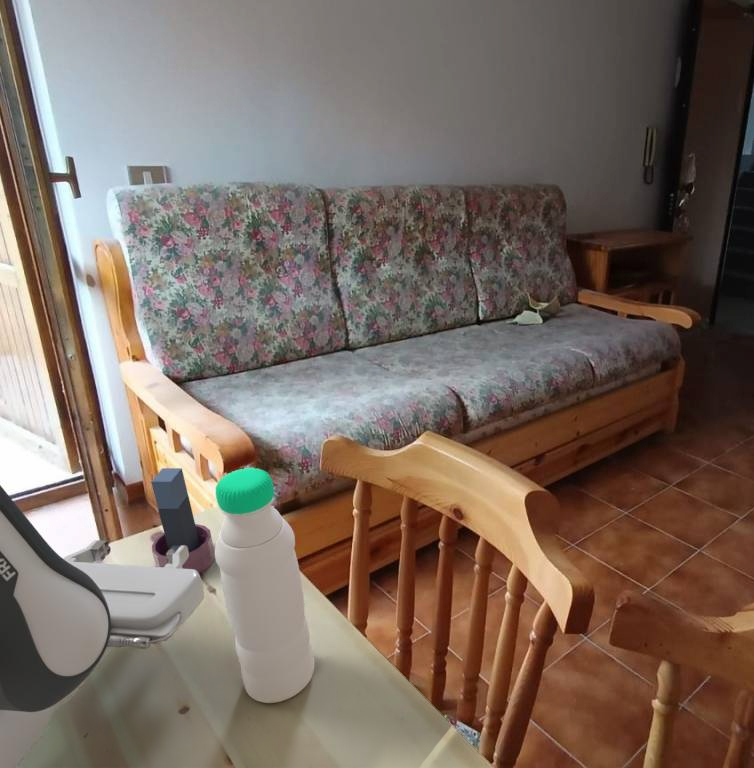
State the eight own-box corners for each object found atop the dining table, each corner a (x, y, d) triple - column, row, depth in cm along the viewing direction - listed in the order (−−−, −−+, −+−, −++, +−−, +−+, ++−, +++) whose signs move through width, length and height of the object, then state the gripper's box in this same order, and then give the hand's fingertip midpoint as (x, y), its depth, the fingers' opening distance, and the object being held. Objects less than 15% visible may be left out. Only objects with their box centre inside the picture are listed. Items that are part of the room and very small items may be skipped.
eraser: (173, 566, 81) (150, 481, 75) (183, 551, 83) (162, 468, 78) (192, 566, 81) (170, 481, 75) (201, 551, 83) (182, 467, 78)
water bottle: (275, 718, 62) (233, 511, 52) (230, 685, 65) (182, 484, 55) (329, 669, 68) (301, 472, 57) (284, 640, 71) (250, 450, 60)
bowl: (149, 581, 79) (142, 559, 77) (169, 546, 85) (164, 525, 83) (205, 578, 80) (200, 556, 78) (222, 543, 86) (217, 522, 84)
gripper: (154, 624, 59) (225, 530, 71) (-55, 610, 60) (51, 520, 72) (168, 672, 61) (234, 573, 74) (-32, 658, 62) (67, 563, 75)
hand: (142, 547), depth 73 cm, fingers open, 8 cm apart
